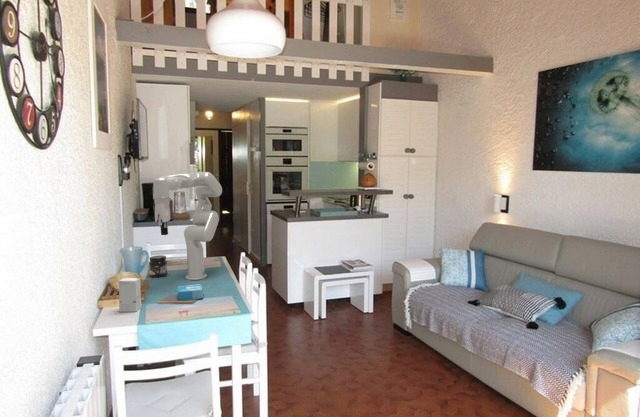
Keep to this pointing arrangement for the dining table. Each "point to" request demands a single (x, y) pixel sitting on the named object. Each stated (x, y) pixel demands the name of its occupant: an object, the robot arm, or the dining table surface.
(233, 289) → the dining table surface
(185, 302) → the oak strip
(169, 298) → the rubber mat
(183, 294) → the data package
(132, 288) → the skincare box
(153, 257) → the supplement container
